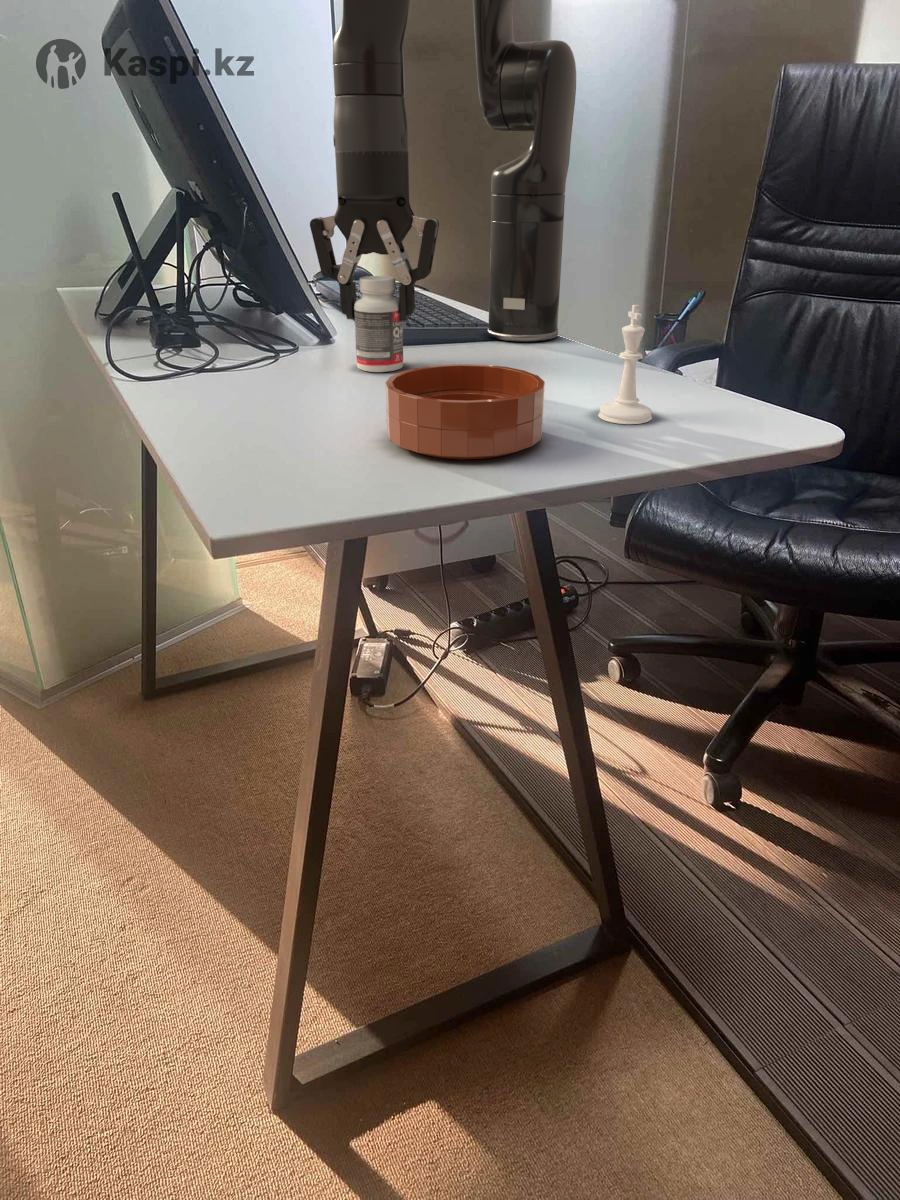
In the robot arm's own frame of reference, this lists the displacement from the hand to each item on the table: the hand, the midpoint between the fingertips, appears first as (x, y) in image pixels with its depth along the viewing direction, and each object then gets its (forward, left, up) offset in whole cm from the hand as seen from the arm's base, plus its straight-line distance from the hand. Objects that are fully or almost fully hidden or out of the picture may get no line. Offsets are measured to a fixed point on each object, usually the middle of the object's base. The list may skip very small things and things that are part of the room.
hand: (378, 318), depth 96 cm
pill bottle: (0, 0, -6) cm, 6 cm away
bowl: (+26, +13, -5) cm, 30 cm away
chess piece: (+17, +27, -6) cm, 32 cm away
